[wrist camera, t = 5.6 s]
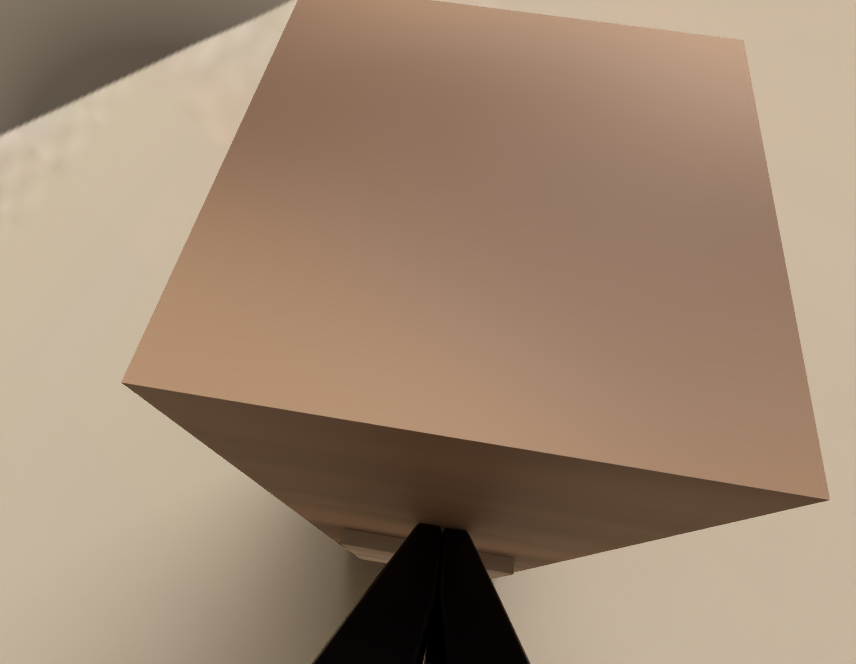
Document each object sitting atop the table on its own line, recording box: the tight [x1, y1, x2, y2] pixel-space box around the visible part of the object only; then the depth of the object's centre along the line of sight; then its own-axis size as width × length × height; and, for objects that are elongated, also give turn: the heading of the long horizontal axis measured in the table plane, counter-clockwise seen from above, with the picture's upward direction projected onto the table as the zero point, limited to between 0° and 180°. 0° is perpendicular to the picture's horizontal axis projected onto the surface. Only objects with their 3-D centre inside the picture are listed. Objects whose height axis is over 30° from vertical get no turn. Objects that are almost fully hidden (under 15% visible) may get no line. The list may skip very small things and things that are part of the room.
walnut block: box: [121, 0, 830, 579], centre depth 11 cm, size 5×5×14 cm
